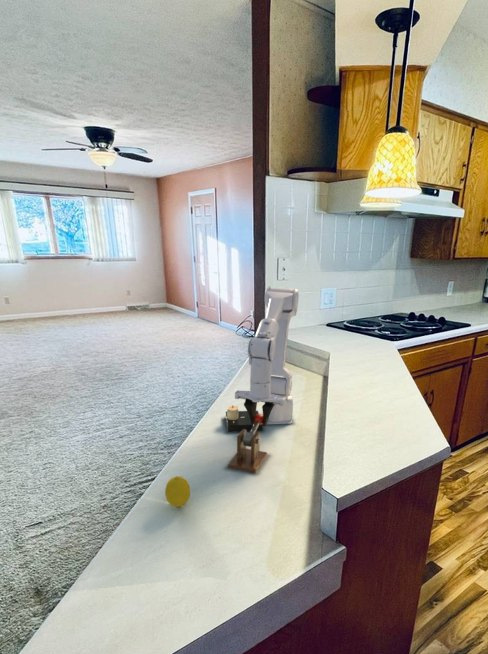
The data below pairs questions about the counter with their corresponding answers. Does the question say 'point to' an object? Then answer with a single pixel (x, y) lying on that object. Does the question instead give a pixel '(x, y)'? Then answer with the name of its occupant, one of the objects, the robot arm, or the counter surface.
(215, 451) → the counter surface
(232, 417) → the dial
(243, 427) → the control panel
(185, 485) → the lemon
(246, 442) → the lever
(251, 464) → the switch bracket
